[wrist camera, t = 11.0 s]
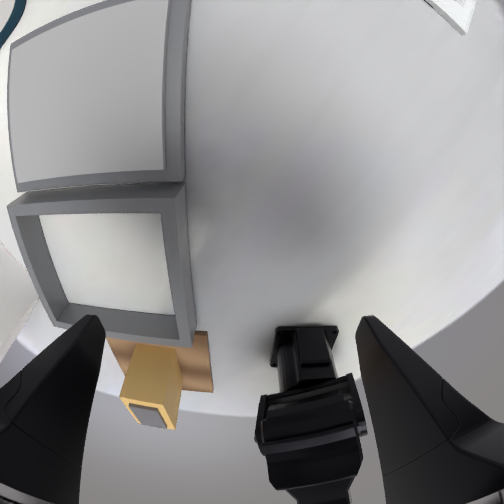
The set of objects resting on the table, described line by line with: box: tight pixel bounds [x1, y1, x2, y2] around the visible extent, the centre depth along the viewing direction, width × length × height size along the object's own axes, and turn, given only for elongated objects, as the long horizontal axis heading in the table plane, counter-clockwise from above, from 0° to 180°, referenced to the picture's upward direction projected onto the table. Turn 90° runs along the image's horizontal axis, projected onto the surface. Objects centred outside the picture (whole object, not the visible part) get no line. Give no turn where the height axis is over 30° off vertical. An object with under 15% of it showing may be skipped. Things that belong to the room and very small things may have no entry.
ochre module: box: [119, 344, 183, 430], centre depth 26 cm, size 7×4×7 cm, turn 176°
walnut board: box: [106, 331, 213, 393], centre depth 29 cm, size 12×12×1 cm
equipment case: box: [7, 0, 196, 348], centre depth 17 cm, size 28×16×3 cm, turn 177°
